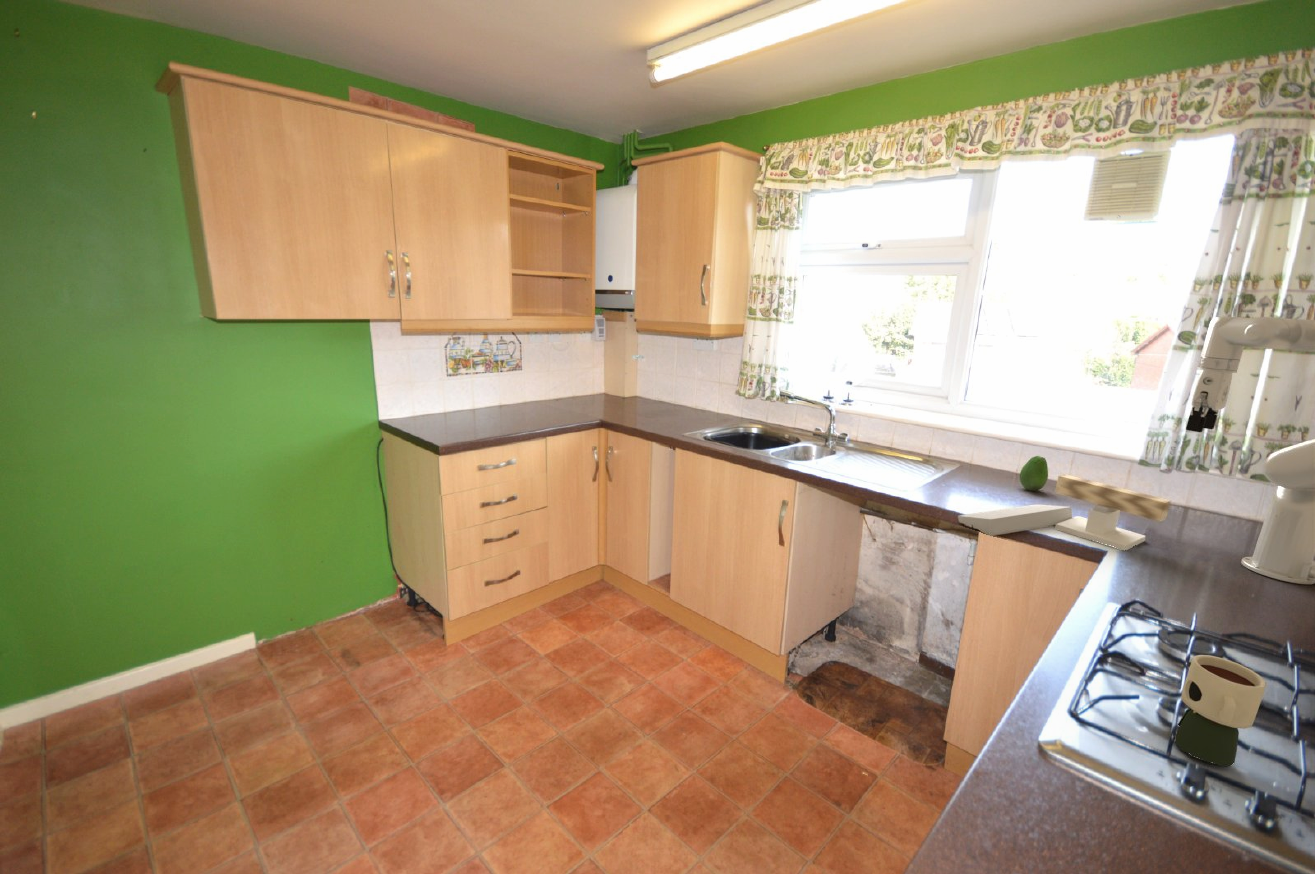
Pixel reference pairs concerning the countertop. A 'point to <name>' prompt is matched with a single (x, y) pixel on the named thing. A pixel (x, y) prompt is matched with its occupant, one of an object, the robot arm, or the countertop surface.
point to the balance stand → (1101, 528)
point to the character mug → (1217, 708)
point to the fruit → (1034, 474)
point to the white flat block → (1016, 518)
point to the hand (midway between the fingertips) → (1199, 429)
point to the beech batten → (1113, 497)
